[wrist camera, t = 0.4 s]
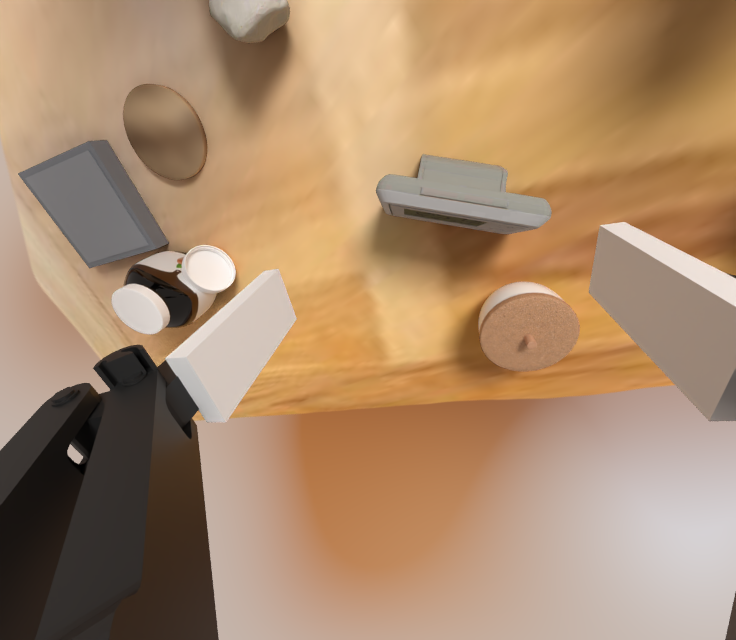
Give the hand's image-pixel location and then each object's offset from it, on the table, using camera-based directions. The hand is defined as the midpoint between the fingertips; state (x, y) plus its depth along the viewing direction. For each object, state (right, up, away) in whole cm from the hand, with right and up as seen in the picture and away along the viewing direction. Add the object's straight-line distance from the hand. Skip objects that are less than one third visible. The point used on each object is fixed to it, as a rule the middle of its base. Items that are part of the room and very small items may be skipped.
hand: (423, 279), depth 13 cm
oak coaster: (-27, +21, +25) cm, 43 cm away
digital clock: (+8, +13, +24) cm, 28 cm away
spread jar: (-28, +6, +35) cm, 46 cm away
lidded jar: (+18, 0, +30) cm, 35 cm away
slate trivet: (-41, +15, +32) cm, 54 cm away
